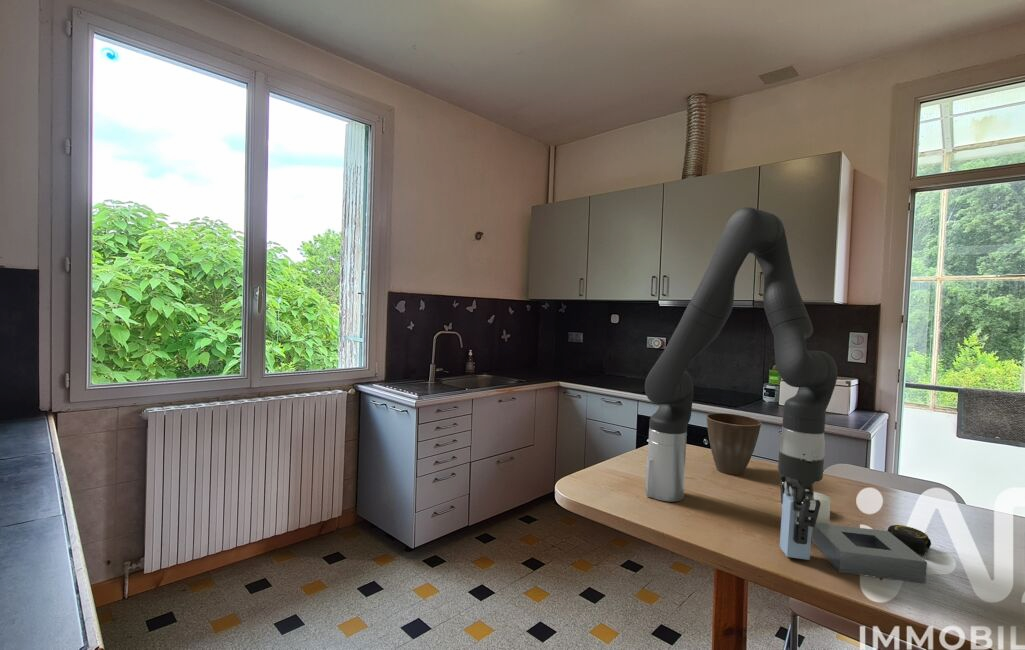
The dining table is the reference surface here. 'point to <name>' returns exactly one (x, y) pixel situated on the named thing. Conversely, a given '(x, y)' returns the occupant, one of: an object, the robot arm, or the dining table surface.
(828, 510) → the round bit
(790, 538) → the square bit
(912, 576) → the socket block
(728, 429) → the plant pot
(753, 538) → the dining table surface
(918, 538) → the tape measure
